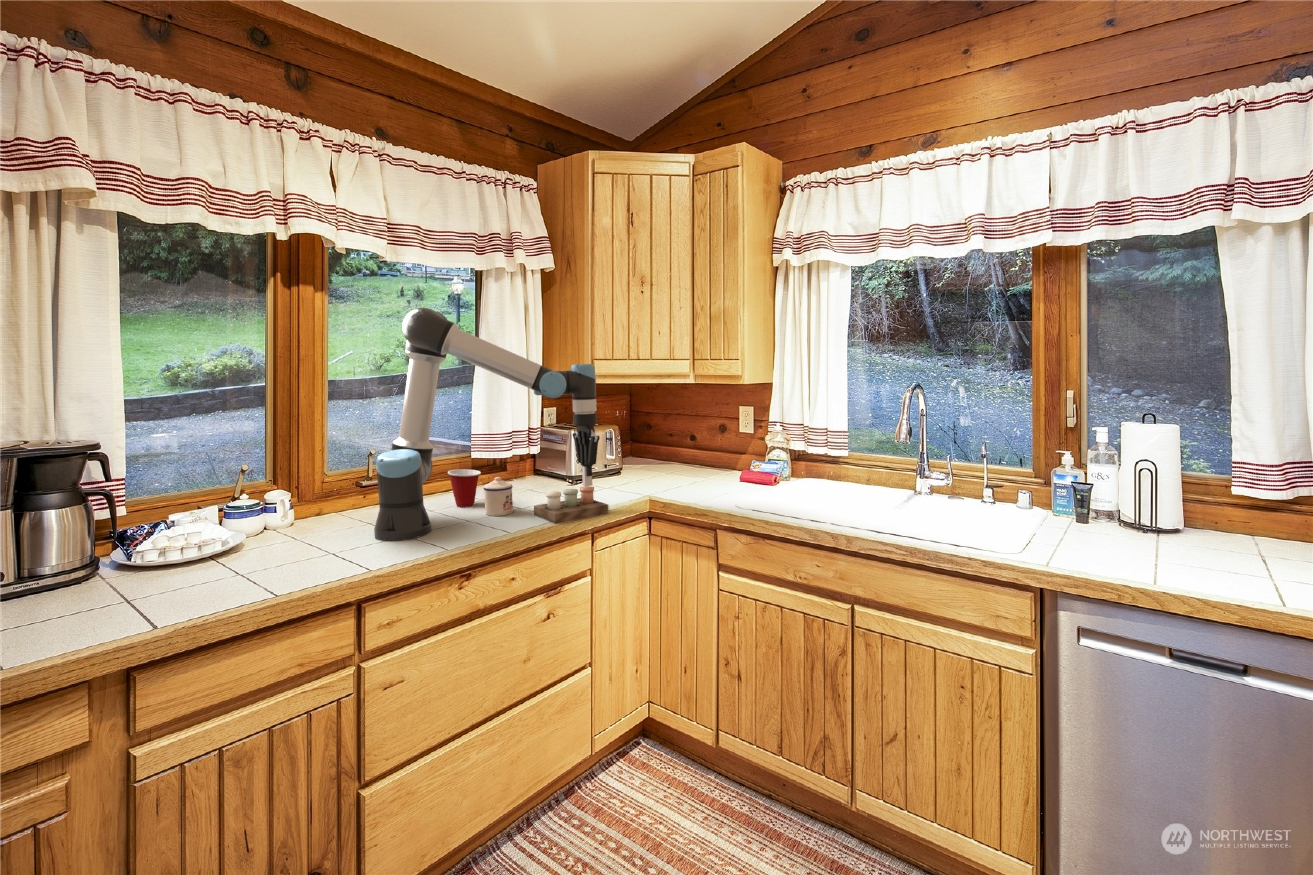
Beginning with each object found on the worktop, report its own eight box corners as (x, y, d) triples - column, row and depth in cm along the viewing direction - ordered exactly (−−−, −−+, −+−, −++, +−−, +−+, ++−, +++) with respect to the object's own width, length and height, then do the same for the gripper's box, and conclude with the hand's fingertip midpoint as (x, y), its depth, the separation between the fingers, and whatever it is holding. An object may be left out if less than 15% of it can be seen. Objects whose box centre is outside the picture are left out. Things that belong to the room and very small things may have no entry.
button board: (555, 523, 184) (554, 514, 184) (534, 515, 195) (533, 505, 195) (608, 513, 196) (608, 504, 195) (585, 505, 207) (585, 497, 206)
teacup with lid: (508, 516, 194) (507, 480, 193) (480, 516, 195) (478, 480, 193) (519, 507, 206) (518, 473, 204) (492, 507, 206) (491, 473, 205)
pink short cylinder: (584, 505, 196) (584, 489, 195) (577, 503, 199) (577, 487, 199) (597, 503, 198) (596, 487, 198) (589, 501, 202) (589, 485, 201)
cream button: (551, 511, 188) (550, 495, 188) (544, 509, 192) (543, 492, 191) (564, 509, 191) (563, 493, 191) (557, 506, 195) (556, 490, 194)
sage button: (568, 508, 192) (567, 492, 191) (561, 506, 196) (560, 490, 195) (581, 506, 195) (580, 490, 194) (573, 504, 199) (573, 488, 198)
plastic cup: (478, 508, 205) (477, 473, 203) (445, 509, 204) (443, 474, 202) (485, 501, 215) (484, 467, 214) (454, 502, 215) (452, 468, 213)
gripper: (606, 413, 192) (608, 487, 195) (584, 410, 203) (587, 481, 206) (585, 414, 188) (588, 490, 191) (564, 412, 198) (567, 484, 201)
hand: (587, 485), depth 198 cm, fingers closed
